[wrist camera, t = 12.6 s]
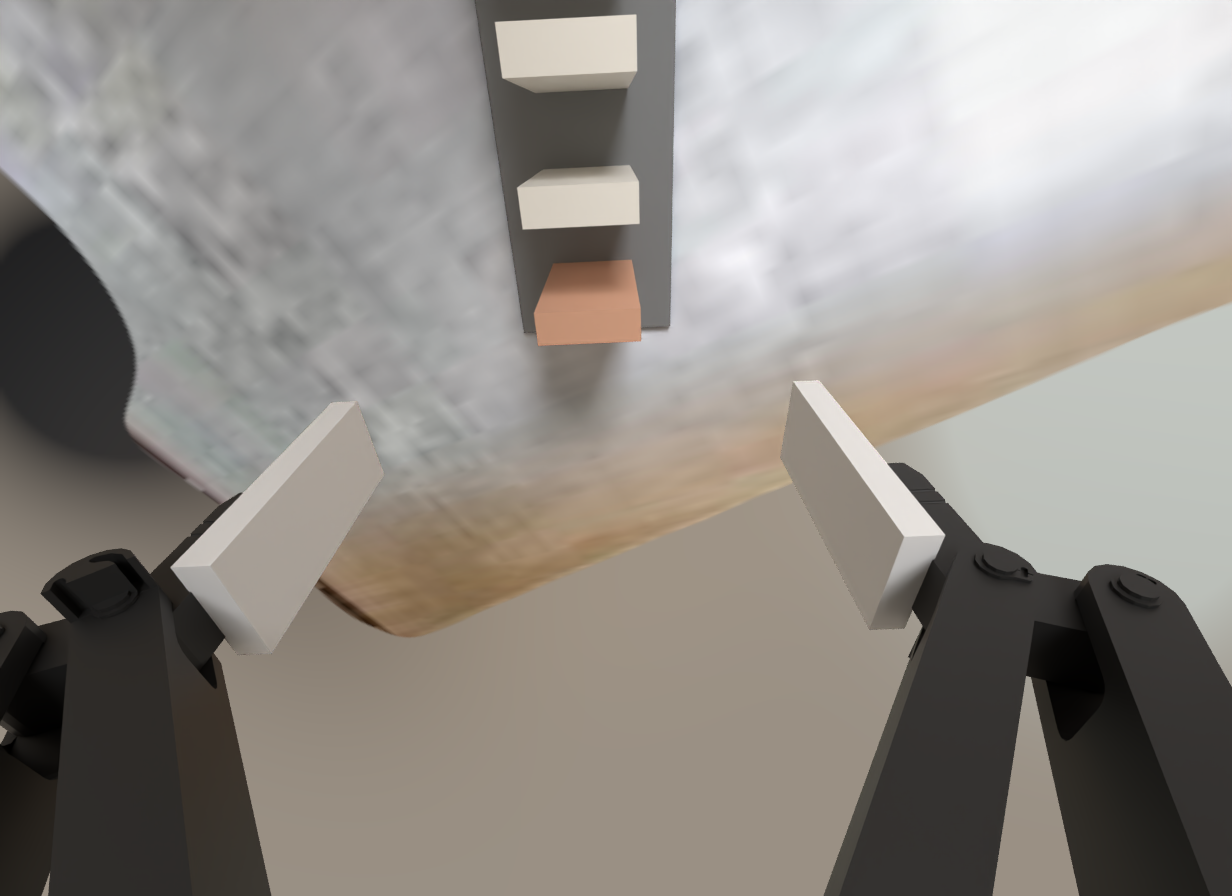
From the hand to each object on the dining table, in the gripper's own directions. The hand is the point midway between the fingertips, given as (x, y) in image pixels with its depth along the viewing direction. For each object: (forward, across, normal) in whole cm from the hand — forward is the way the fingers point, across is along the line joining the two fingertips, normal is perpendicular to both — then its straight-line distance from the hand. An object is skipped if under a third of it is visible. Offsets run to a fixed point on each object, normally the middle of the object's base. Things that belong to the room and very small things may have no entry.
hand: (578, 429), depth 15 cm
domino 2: (+20, 0, +5) cm, 20 cm away
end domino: (+20, 0, 0) cm, 20 cm away
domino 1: (+20, 0, +10) cm, 22 cm away
